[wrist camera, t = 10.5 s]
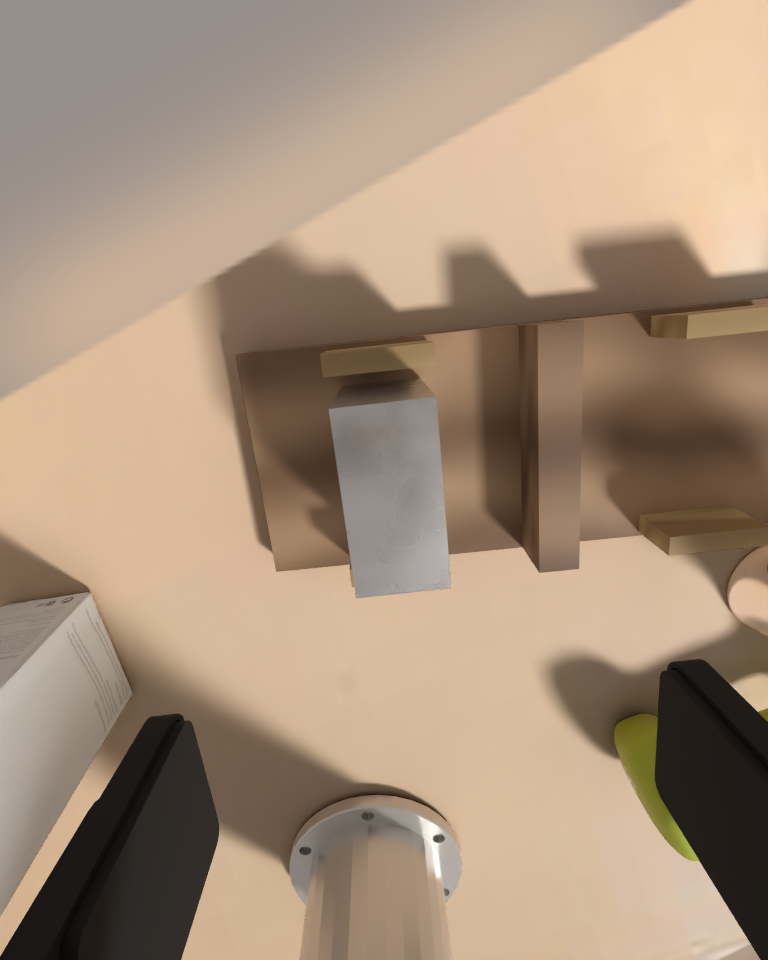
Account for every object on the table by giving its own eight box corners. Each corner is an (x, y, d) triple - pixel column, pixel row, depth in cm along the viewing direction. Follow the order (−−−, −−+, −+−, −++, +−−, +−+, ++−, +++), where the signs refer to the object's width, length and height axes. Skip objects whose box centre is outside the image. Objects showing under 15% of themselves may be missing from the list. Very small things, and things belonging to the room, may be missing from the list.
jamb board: (787, 508, 29) (858, 540, 25) (281, 559, 29) (265, 599, 25) (821, 291, 25) (912, 284, 21) (243, 353, 26) (216, 359, 21)
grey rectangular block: (432, 523, 27) (451, 588, 21) (360, 531, 27) (356, 598, 21) (419, 377, 25) (436, 396, 18) (341, 386, 25) (328, 409, 18)
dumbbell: (835, 605, 31) (964, 684, 24) (858, 696, 33) (983, 792, 26) (590, 703, 33) (646, 802, 26) (627, 783, 35) (688, 894, 29)
